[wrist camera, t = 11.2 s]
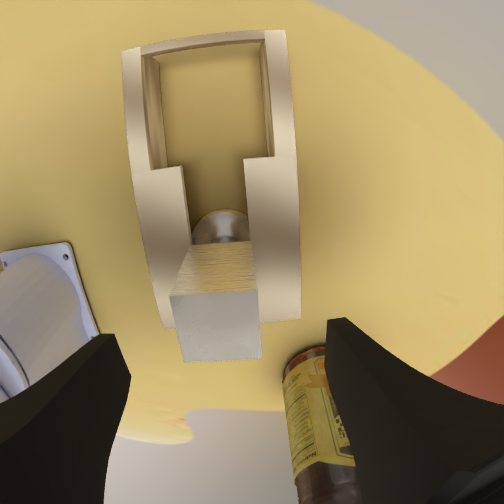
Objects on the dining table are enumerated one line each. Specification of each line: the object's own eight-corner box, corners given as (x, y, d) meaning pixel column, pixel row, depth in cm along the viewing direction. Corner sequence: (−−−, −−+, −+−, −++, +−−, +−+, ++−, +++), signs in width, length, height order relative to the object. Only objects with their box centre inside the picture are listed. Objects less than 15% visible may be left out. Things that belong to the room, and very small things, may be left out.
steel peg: (262, 271, 20) (280, 369, 11) (196, 276, 20) (171, 374, 11) (259, 206, 18) (278, 269, 10) (187, 212, 18) (145, 278, 10)
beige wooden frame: (290, 288, 20) (301, 318, 17) (174, 298, 20) (163, 329, 17) (275, 50, 15) (284, 29, 11) (143, 66, 15) (121, 51, 11)
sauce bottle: (365, 362, 24) (453, 566, 5) (312, 402, 25) (359, 599, 7) (318, 325, 22) (410, 595, 3) (261, 373, 23) (287, 618, 5)
